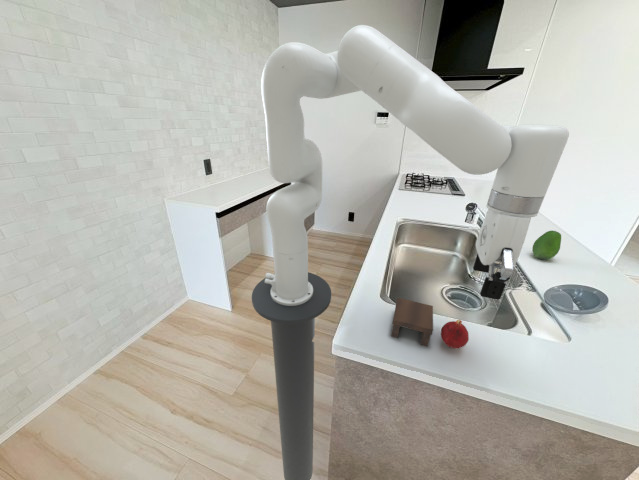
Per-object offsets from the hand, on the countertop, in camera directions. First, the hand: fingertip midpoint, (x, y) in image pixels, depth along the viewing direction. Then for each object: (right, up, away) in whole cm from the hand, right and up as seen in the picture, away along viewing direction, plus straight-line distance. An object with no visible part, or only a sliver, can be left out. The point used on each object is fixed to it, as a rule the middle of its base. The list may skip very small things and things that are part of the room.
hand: (484, 283), depth 52 cm
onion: (-2, -17, +10) cm, 20 cm away
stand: (-10, -14, +15) cm, 23 cm away
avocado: (+54, +1, +50) cm, 73 cm away
